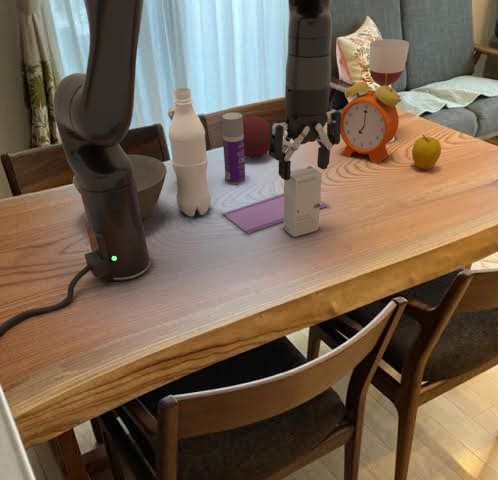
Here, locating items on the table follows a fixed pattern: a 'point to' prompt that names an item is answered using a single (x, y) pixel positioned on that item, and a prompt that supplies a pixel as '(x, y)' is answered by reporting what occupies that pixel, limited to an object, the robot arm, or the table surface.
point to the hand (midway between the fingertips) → (303, 173)
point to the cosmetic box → (302, 201)
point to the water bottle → (189, 155)
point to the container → (233, 148)
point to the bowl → (145, 180)
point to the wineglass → (387, 60)
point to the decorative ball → (255, 136)
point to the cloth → (260, 214)
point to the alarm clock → (369, 120)
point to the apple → (426, 152)
